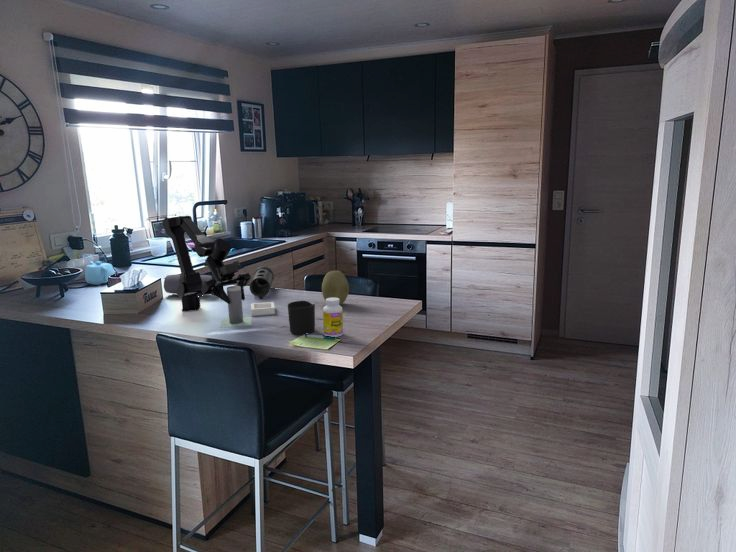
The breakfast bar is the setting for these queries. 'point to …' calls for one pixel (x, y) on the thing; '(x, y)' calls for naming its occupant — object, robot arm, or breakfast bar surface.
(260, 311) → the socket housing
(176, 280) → the bluetooth speaker
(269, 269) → the muzzle brake
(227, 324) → the pad
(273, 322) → the breakfast bar surface
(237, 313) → the grey rectangular block
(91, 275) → the teapot
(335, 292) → the fruit
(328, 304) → the supplement bottle
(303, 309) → the pen holder
